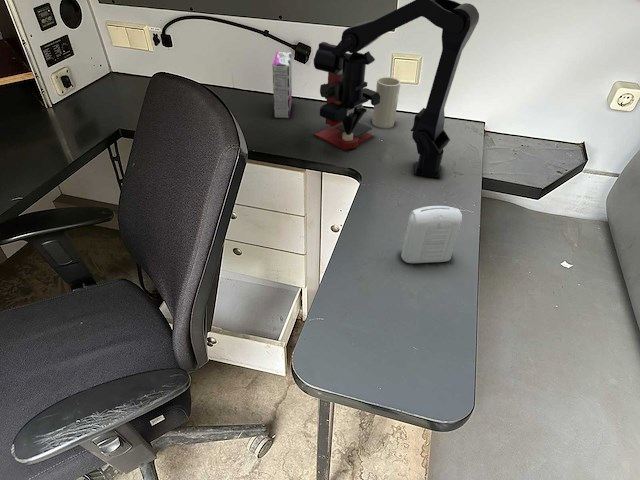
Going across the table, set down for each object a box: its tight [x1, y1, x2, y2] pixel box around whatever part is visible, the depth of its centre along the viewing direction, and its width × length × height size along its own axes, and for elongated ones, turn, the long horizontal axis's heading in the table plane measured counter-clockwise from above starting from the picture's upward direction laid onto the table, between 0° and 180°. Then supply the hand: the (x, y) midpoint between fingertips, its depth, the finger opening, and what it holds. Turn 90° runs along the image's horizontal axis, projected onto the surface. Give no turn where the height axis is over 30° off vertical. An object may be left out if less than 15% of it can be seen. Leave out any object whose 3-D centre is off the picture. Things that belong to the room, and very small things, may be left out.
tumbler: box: [371, 76, 402, 129], centre depth 140 cm, size 7×7×13 cm
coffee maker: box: [314, 122, 374, 152], centre depth 135 cm, size 13×13×2 cm
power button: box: [342, 132, 353, 141], centre depth 130 cm, size 3×3×2 cm
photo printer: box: [400, 205, 463, 264], centre depth 93 cm, size 10×4×12 cm, turn 98°
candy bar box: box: [272, 51, 293, 119], centre depth 143 cm, size 11×5×16 cm, turn 179°
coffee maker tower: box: [325, 69, 373, 137], centre depth 130 cm, size 12×7×18 cm, turn 48°
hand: (348, 134), depth 130 cm, fingers closed, pressing on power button
